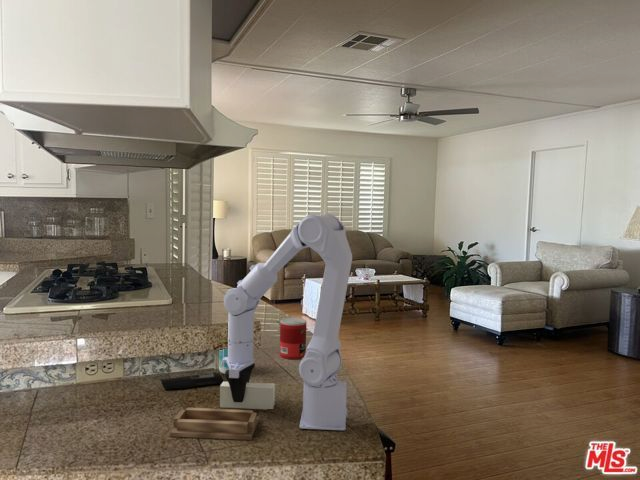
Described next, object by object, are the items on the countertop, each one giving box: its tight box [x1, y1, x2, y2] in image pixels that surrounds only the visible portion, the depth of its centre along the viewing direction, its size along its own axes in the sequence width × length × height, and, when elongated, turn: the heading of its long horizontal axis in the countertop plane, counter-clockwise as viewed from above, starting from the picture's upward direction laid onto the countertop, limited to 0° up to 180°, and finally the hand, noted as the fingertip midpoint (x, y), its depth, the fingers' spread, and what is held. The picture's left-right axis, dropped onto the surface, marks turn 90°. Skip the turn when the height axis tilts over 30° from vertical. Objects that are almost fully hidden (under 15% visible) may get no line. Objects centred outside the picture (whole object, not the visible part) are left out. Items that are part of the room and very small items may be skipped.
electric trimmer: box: [160, 371, 224, 390], centre depth 126 cm, size 4×16×3 cm, turn 113°
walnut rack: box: [169, 407, 259, 441], centre depth 103 cm, size 16×9×3 cm, turn 88°
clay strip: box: [219, 380, 276, 410], centre depth 115 cm, size 12×3×5 cm, turn 88°
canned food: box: [279, 317, 307, 360], centre depth 153 cm, size 8×8×11 cm
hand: (239, 398), depth 115 cm, fingers open, 3 cm apart
